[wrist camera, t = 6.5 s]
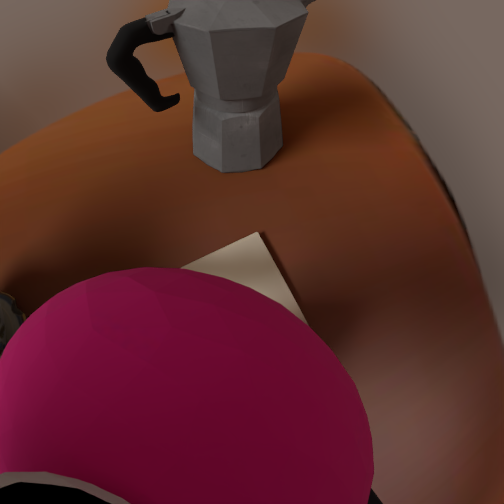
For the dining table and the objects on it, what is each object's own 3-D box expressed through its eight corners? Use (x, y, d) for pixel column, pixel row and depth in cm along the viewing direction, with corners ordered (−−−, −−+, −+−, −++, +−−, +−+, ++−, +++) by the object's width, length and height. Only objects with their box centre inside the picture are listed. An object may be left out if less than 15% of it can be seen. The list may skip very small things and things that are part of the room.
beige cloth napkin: (346, 403, 21) (351, 405, 20) (173, 482, 18) (170, 487, 17) (256, 237, 25) (257, 231, 24) (91, 315, 23) (85, 314, 22)
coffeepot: (267, 91, 30) (281, -53, 13) (317, 146, 28) (369, -17, 11) (139, 144, 28) (81, -8, 11) (173, 214, 25) (97, 30, 8)
